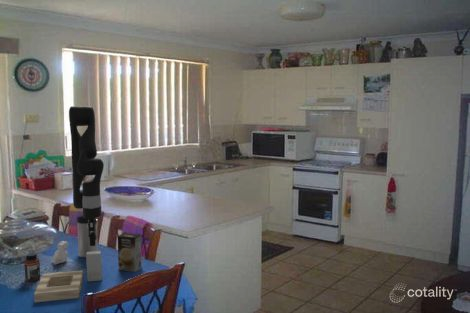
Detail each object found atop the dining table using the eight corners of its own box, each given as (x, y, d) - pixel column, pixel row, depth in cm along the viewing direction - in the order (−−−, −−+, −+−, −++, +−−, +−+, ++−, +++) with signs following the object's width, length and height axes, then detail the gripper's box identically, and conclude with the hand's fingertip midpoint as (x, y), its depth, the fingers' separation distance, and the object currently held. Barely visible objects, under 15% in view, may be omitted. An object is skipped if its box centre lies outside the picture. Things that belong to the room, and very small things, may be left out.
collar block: (43, 281, 186) (43, 273, 185) (83, 277, 189) (82, 269, 189) (34, 302, 166) (34, 293, 166) (78, 297, 170) (78, 288, 170)
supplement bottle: (25, 277, 190) (24, 252, 188) (40, 275, 192) (39, 250, 191) (24, 282, 184) (23, 257, 183) (40, 280, 186) (38, 255, 185)
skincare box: (102, 276, 191) (101, 250, 189) (102, 280, 186) (101, 253, 185) (87, 278, 189) (86, 251, 188) (87, 282, 185) (85, 254, 183)
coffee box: (117, 270, 198) (116, 236, 196) (124, 265, 204) (123, 232, 202) (135, 272, 196) (134, 237, 194) (142, 267, 202) (141, 233, 200)
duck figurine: (59, 270, 203) (73, 251, 203) (44, 262, 201) (59, 242, 202) (63, 261, 215) (77, 243, 215) (50, 253, 213) (64, 235, 213)
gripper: (84, 202, 190) (85, 238, 192) (81, 209, 176) (82, 248, 178) (101, 201, 192) (103, 237, 194) (100, 208, 178) (101, 247, 180)
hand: (93, 242), depth 186 cm, fingers open, 8 cm apart
